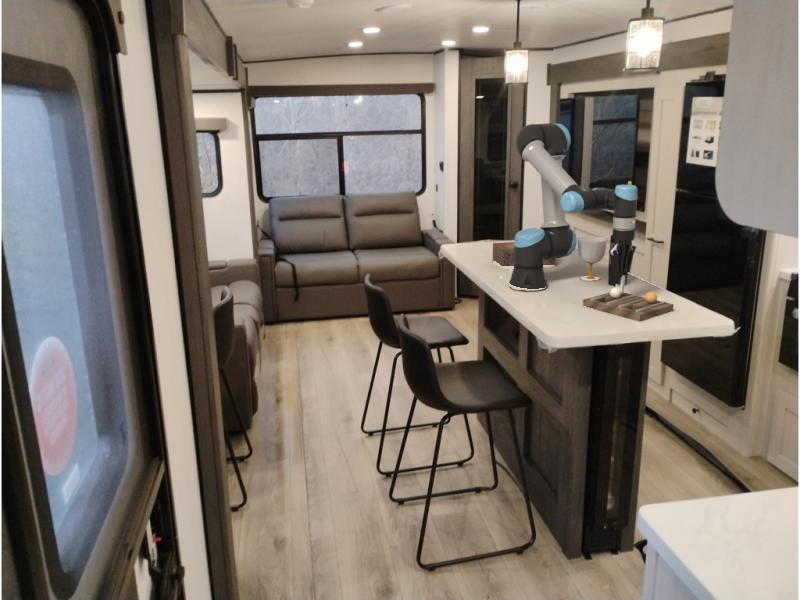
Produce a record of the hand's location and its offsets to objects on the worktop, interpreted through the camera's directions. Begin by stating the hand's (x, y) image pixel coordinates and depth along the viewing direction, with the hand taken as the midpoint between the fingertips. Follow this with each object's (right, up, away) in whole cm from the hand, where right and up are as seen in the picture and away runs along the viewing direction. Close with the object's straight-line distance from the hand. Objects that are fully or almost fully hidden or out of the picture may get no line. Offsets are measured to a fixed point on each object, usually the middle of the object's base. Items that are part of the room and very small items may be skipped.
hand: (619, 292), depth 239 cm
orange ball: (+8, -2, -9) cm, 12 cm away
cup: (0, +6, +38) cm, 38 cm away
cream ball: (-2, 0, -2) cm, 3 cm away
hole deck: (+1, -6, -5) cm, 8 cm away
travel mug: (+8, +4, +28) cm, 29 cm away
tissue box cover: (-23, +13, +66) cm, 71 cm away
